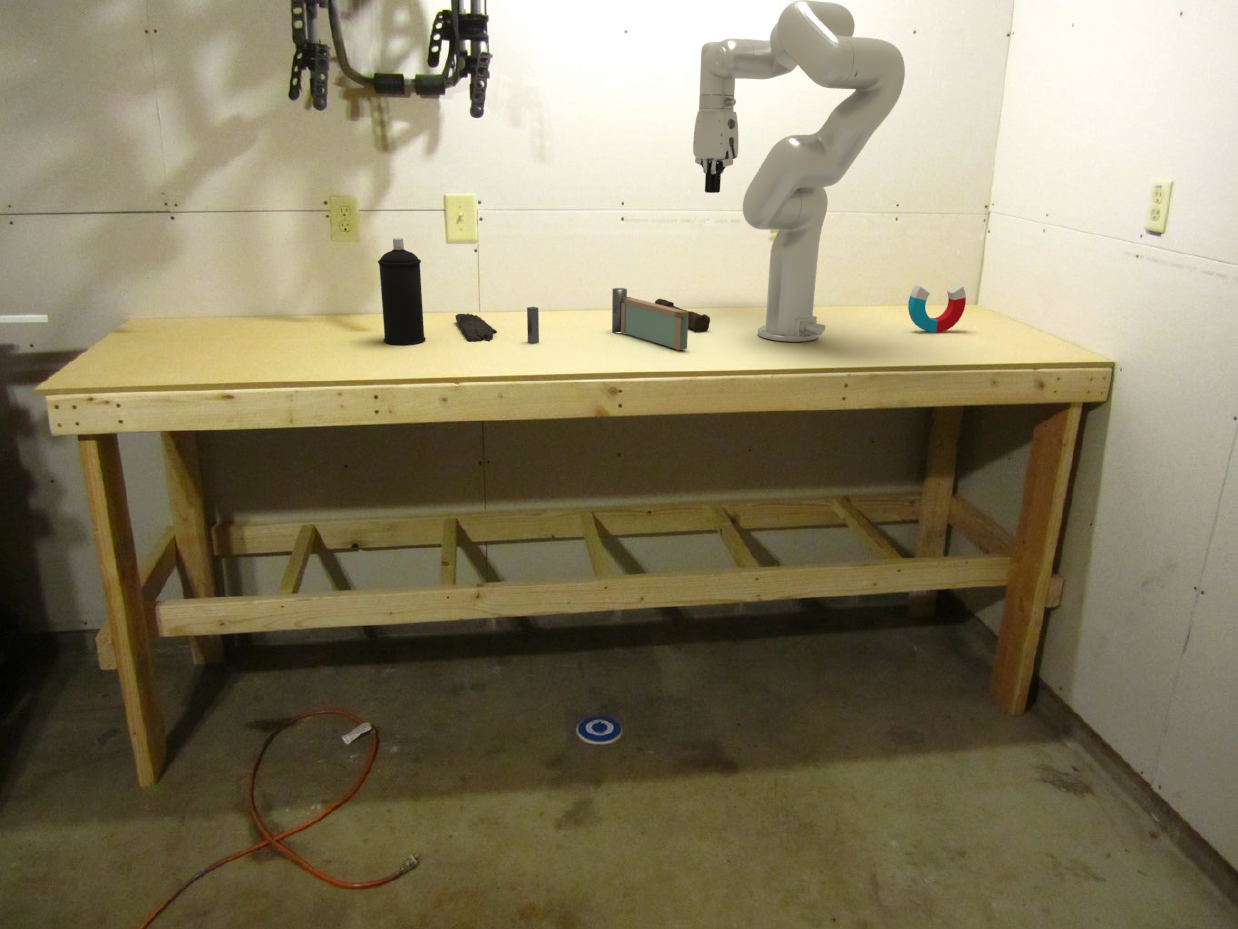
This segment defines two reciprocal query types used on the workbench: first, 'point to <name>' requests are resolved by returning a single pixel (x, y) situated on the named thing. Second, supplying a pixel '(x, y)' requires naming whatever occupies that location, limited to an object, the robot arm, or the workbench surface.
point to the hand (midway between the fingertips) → (712, 192)
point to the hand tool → (690, 317)
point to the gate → (654, 322)
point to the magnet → (943, 321)
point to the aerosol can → (401, 296)
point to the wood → (474, 328)
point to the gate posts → (616, 316)
